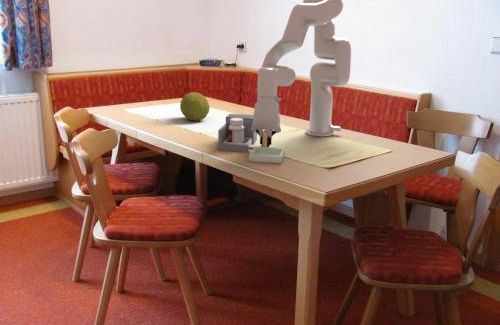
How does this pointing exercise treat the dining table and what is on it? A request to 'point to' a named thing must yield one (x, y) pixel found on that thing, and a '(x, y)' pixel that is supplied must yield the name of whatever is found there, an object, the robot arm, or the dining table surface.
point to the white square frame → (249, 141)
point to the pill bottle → (236, 130)
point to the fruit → (194, 106)
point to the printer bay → (248, 133)
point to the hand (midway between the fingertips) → (265, 146)
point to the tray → (267, 155)
